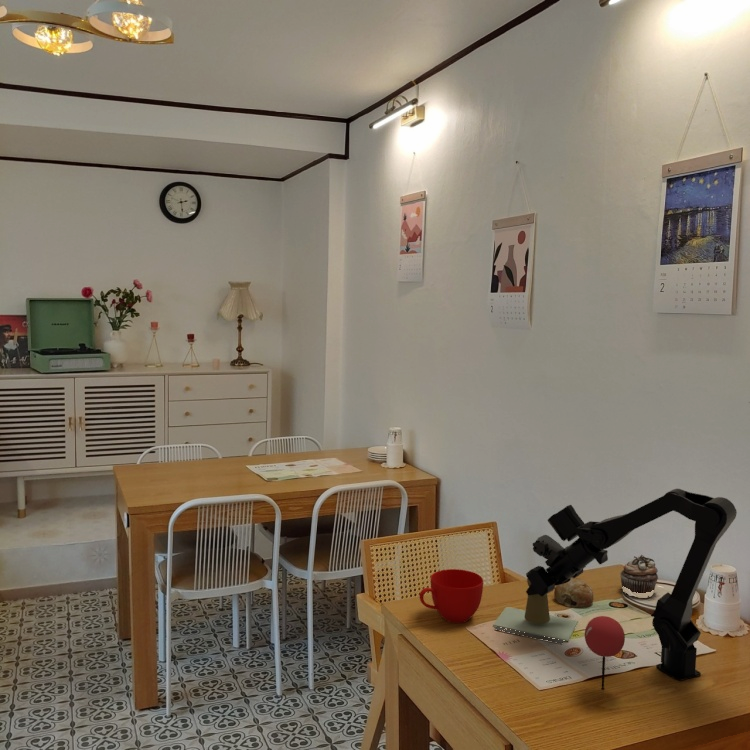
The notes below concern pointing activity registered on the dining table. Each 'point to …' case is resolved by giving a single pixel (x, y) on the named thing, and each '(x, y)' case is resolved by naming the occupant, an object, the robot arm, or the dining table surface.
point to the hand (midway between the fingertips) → (532, 590)
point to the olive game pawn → (537, 608)
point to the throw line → (530, 635)
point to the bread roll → (574, 593)
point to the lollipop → (604, 638)
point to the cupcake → (639, 575)
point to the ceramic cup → (455, 594)
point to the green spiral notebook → (536, 624)
